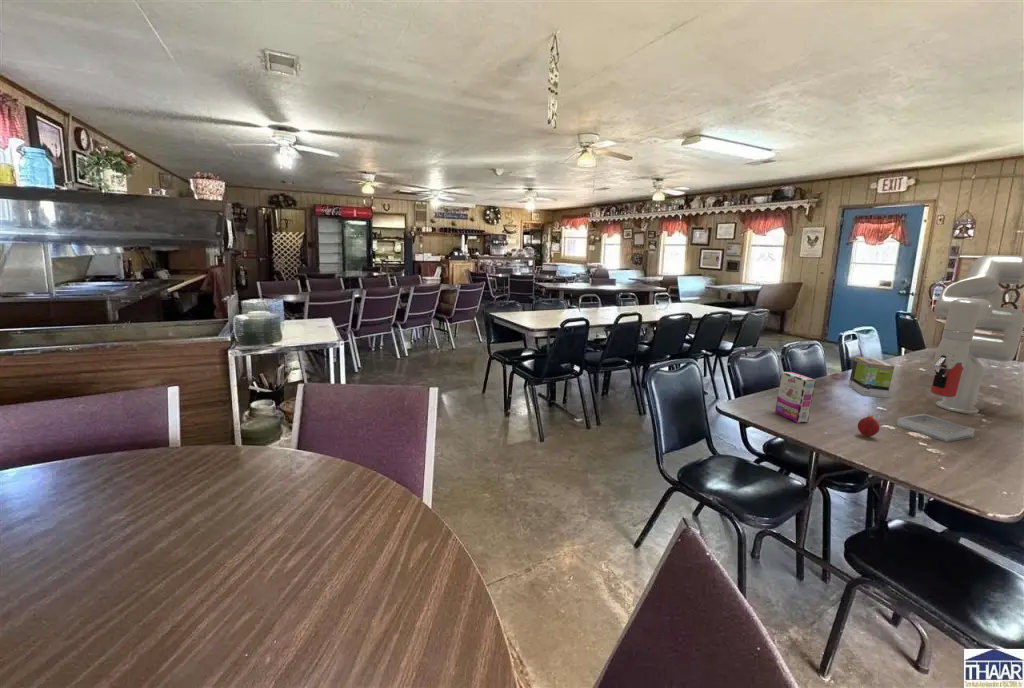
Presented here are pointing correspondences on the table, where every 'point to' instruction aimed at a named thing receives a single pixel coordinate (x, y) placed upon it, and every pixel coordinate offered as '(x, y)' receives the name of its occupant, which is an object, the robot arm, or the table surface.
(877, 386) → the tea box
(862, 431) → the onion
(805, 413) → the candy bar box
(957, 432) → the rimmed tray
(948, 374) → the beer can
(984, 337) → the robot arm
